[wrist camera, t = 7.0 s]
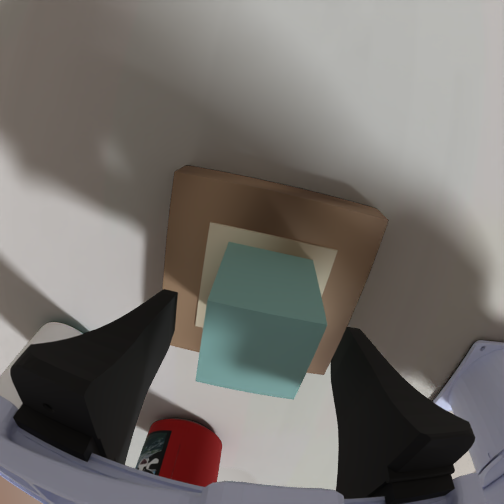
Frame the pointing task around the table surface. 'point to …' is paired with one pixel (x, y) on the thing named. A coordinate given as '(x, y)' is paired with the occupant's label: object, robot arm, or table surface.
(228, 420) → the table surface
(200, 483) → the beverage can
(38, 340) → the can
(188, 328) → the walnut base
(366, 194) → the table surface
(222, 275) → the teal block
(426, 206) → the table surface
